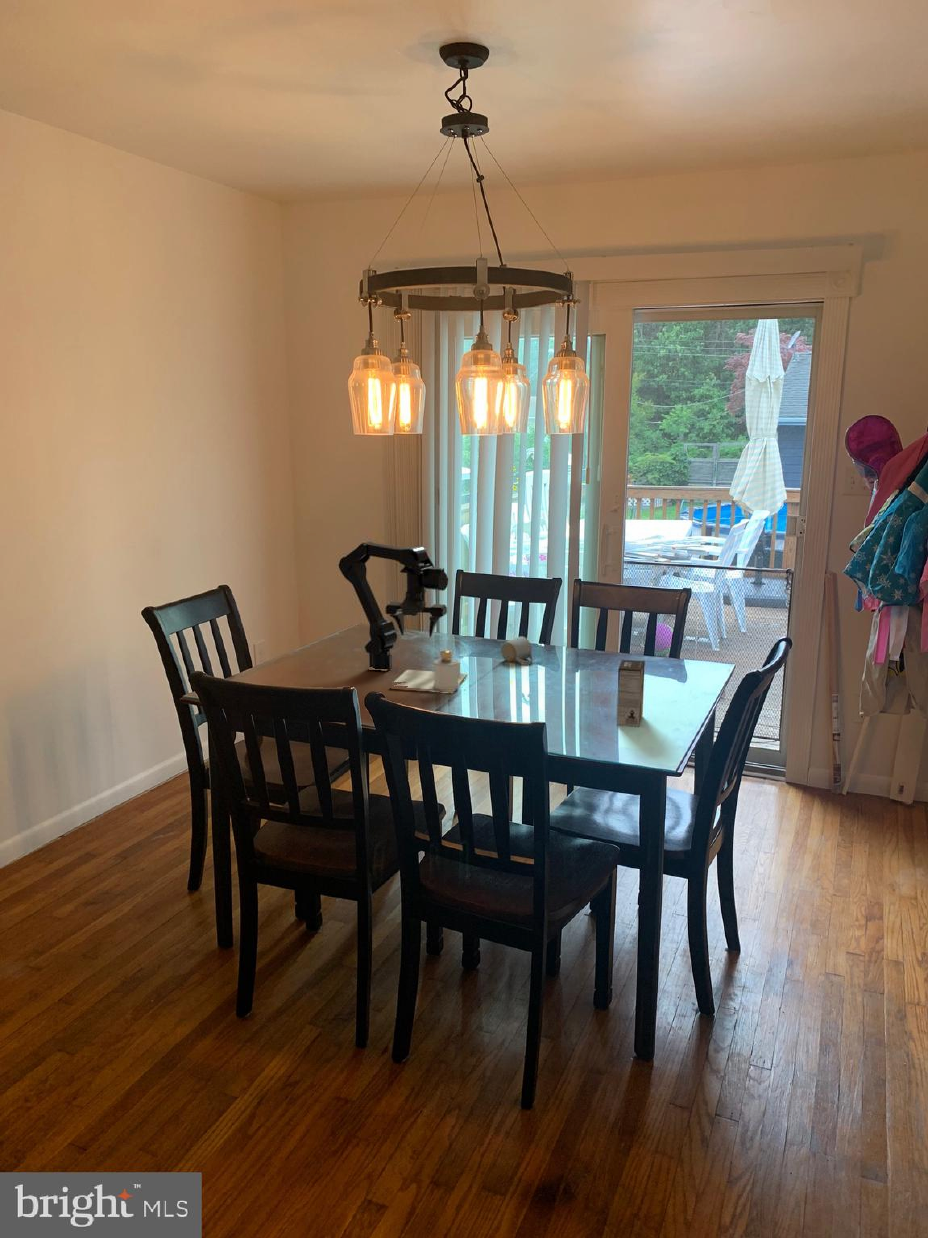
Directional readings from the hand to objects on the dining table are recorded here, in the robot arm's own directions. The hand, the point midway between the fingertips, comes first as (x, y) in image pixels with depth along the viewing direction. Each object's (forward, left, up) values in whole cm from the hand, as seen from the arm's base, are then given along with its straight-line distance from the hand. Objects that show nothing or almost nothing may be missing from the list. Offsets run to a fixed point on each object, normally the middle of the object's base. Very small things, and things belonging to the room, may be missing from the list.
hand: (416, 635), depth 283 cm
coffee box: (+69, -27, -13) cm, 75 cm away
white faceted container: (+13, -11, -12) cm, 21 cm away
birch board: (+6, -7, -13) cm, 16 cm away
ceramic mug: (+28, +24, -13) cm, 40 cm away
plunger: (+13, -12, -10) cm, 21 cm away
